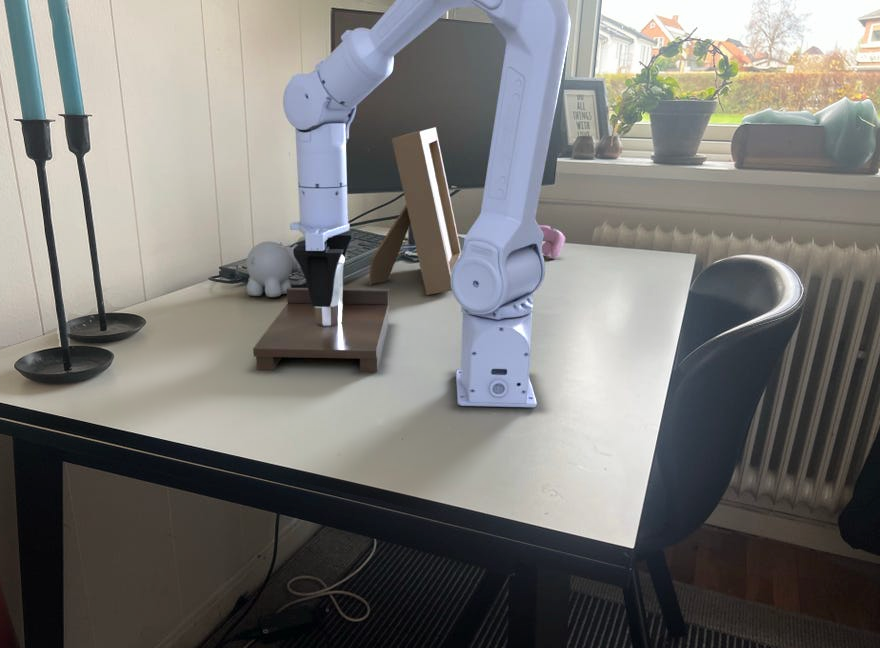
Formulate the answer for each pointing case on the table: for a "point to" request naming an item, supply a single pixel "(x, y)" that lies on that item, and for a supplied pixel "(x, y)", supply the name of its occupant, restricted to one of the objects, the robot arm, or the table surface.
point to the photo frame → (421, 214)
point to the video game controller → (552, 241)
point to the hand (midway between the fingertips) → (326, 297)
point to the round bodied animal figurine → (270, 269)
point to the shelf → (327, 330)
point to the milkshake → (333, 301)
